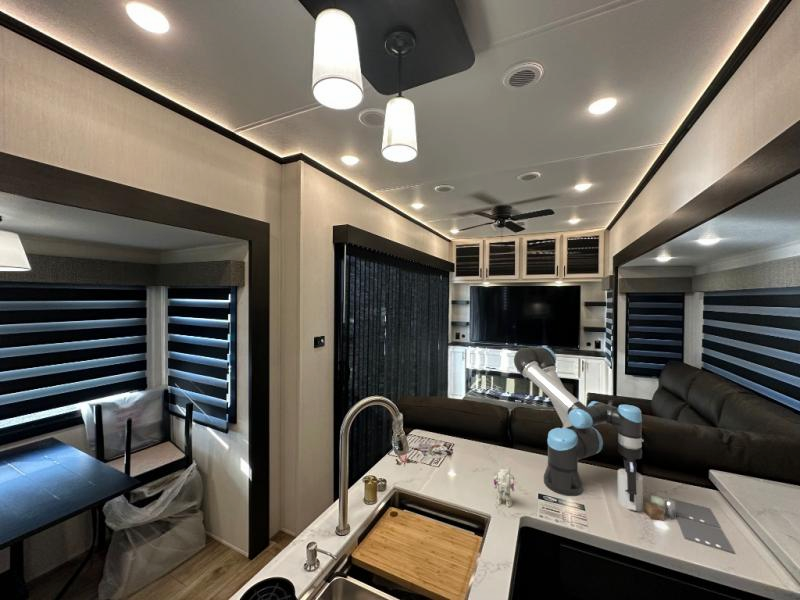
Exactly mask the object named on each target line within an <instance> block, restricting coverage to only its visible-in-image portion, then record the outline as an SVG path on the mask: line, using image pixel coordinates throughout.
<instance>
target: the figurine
mask: <svg viewBox="0 0 800 600" xmlns="http://www.w3.org/2000/svg"><path fill="white" fill-rule="evenodd" d="M497 470H498V471H494V473H493V483H494V484H493V488H494V489H497V494H496V496H497V497H496V500H495V502H496V504H497V505H501V504H502V503H503V494H504V497H505V505H506V507H507V508H511V507H512V504H513V500H511V493H513V492H515V487H514V486H515V477H514V475H512V474H511V467H508V468H507V469H506V468H505V469H504V468H502V467H501V466H500V465H498V468H497Z"/></svg>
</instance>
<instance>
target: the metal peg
mask: <svg viewBox="0 0 800 600" xmlns="http://www.w3.org/2000/svg"><path fill="white" fill-rule="evenodd" d="M669 498H670V497H669ZM669 498H668V497H667V498H664V517H666V518H667V519H669V520H676V515H675V501H673V500H672V499H673V498H672V499H669Z"/></svg>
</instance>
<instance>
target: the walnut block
mask: <svg viewBox="0 0 800 600" xmlns="http://www.w3.org/2000/svg"><path fill="white" fill-rule="evenodd" d="M644 512H645V514H646V515H647V516H648V518H649V519H650V520H652V521H653V520H654V521H660V522H664V520H665V519H664V517H665V509H662V508H661V507H660V506H659V505H658V504H657V503H651V502H647V501H644Z"/></svg>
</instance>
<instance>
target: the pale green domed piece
mask: <svg viewBox="0 0 800 600" xmlns="http://www.w3.org/2000/svg"><path fill="white" fill-rule="evenodd" d="M650 503H657V504H658V505H659V506H660V507H661V508H662V509H663V510H665V499H663V498H662V497H660V496H658V495H651V496H650Z"/></svg>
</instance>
